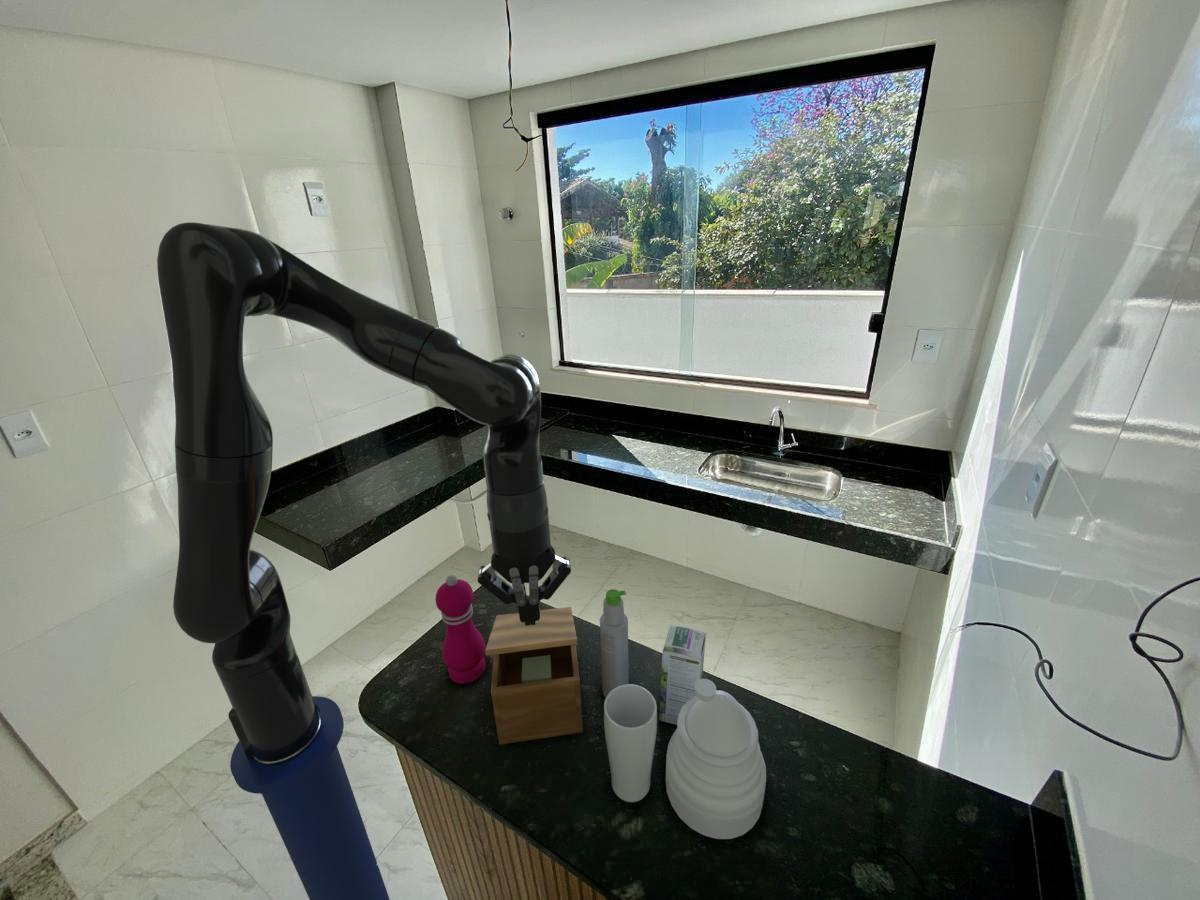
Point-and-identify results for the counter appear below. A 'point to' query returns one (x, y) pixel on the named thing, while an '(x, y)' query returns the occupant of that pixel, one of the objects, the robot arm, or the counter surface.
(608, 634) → the bottle
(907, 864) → the counter surface
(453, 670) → the pepper mill
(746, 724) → the honey pot
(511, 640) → the cover
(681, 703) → the syrup box
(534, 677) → the block
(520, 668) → the keepsake box
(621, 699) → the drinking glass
